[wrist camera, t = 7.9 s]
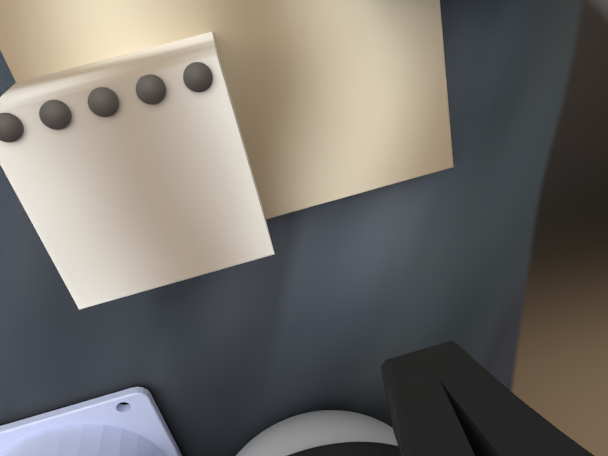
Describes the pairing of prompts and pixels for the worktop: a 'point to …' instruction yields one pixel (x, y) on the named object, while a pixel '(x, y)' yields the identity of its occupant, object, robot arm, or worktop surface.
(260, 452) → the dark egg-shaped dome
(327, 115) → the board
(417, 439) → the robot arm
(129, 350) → the worktop surface
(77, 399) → the worktop surface
